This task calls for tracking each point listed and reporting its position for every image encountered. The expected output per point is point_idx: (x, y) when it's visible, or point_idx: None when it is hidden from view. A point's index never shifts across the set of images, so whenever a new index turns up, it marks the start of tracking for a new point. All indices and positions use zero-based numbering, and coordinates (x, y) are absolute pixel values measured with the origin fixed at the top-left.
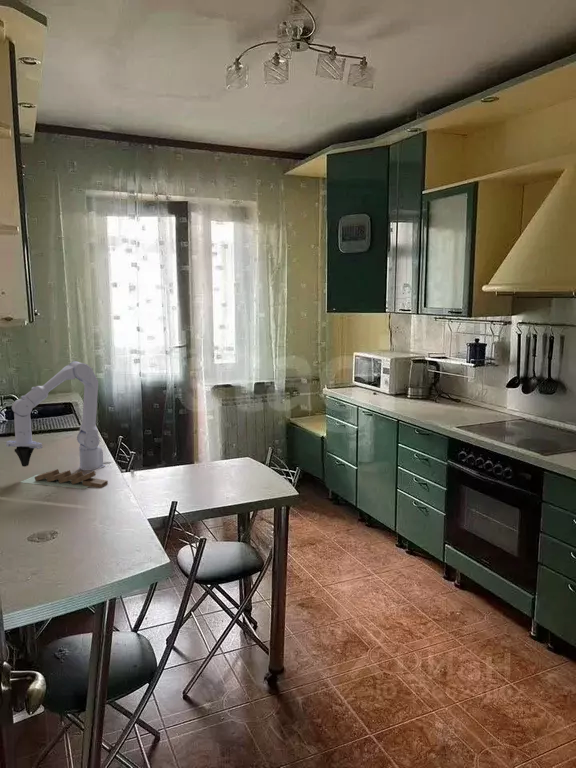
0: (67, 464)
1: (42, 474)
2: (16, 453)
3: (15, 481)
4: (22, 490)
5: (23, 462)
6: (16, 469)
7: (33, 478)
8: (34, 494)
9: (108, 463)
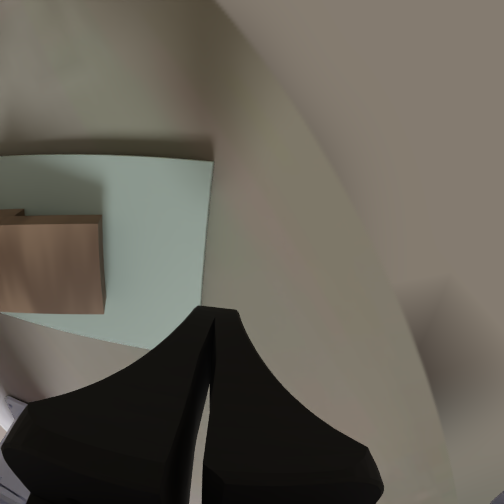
0: None
1: (40, 250)
2: (316, 417)
3: (291, 226)
4: (112, 45)
5: (199, 325)
6: (390, 416)
7: (160, 272)
8: (20, 25)
9: None
